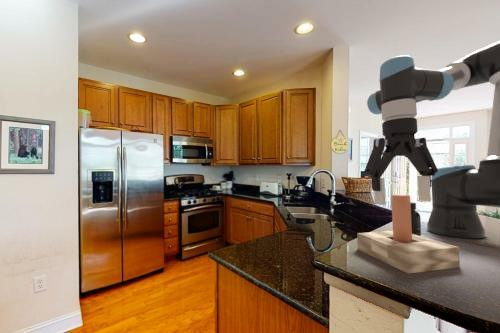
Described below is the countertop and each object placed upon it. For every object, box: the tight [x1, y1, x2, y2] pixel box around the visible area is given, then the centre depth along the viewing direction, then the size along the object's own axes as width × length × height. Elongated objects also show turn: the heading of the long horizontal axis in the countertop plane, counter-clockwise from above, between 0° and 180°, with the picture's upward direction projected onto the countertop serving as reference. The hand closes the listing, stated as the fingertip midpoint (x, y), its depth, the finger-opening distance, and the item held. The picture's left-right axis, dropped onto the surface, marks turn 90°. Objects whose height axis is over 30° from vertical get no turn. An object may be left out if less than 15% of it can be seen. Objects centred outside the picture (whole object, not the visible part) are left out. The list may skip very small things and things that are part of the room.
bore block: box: [356, 230, 461, 275], centre depth 58 cm, size 14×16×4 cm
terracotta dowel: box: [390, 194, 412, 243], centre depth 58 cm, size 4×4×14 cm
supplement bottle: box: [410, 201, 422, 236], centre depth 72 cm, size 7×7×12 cm
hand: (402, 202), depth 59 cm, fingers open, 13 cm apart
